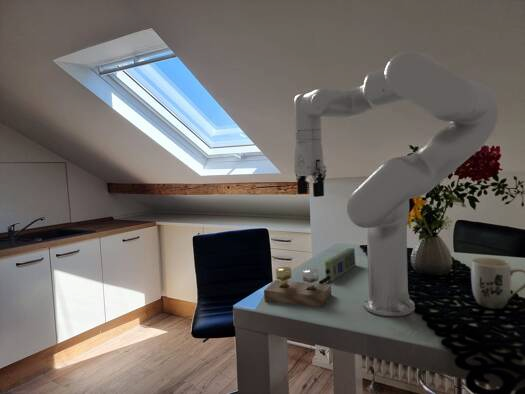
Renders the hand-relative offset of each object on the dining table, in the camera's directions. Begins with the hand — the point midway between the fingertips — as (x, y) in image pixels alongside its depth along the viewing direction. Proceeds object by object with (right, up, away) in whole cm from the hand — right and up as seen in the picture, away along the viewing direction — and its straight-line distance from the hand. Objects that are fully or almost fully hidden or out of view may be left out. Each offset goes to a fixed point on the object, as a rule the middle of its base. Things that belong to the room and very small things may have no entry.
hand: (310, 194), depth 110 cm
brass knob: (-8, -27, -4) cm, 28 cm away
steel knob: (-1, -27, -7) cm, 28 cm away
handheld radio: (+11, -27, +13) cm, 32 cm away
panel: (-4, -29, -5) cm, 30 cm away
